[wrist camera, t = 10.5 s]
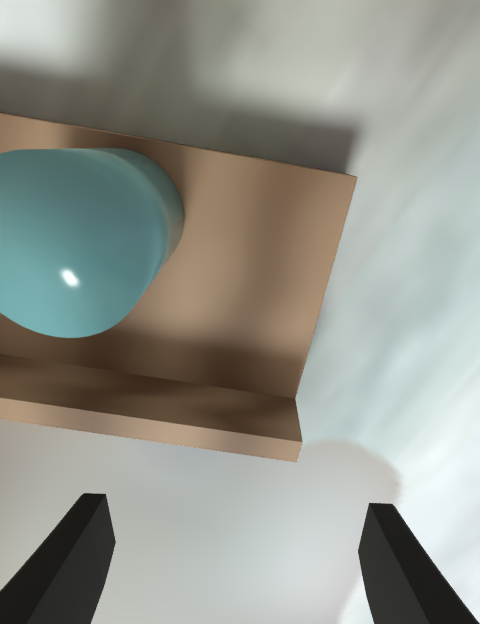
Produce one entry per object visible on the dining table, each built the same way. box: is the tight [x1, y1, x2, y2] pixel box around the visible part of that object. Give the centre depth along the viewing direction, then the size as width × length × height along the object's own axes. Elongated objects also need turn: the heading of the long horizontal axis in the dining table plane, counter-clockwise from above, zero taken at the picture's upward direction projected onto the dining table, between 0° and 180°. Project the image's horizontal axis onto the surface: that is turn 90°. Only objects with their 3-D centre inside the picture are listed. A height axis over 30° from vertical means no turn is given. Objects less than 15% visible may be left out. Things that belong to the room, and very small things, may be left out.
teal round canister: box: [0, 148, 185, 338], centre depth 12 cm, size 5×5×6 cm
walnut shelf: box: [0, 112, 357, 462], centre depth 16 cm, size 18×12×5 cm, turn 81°
